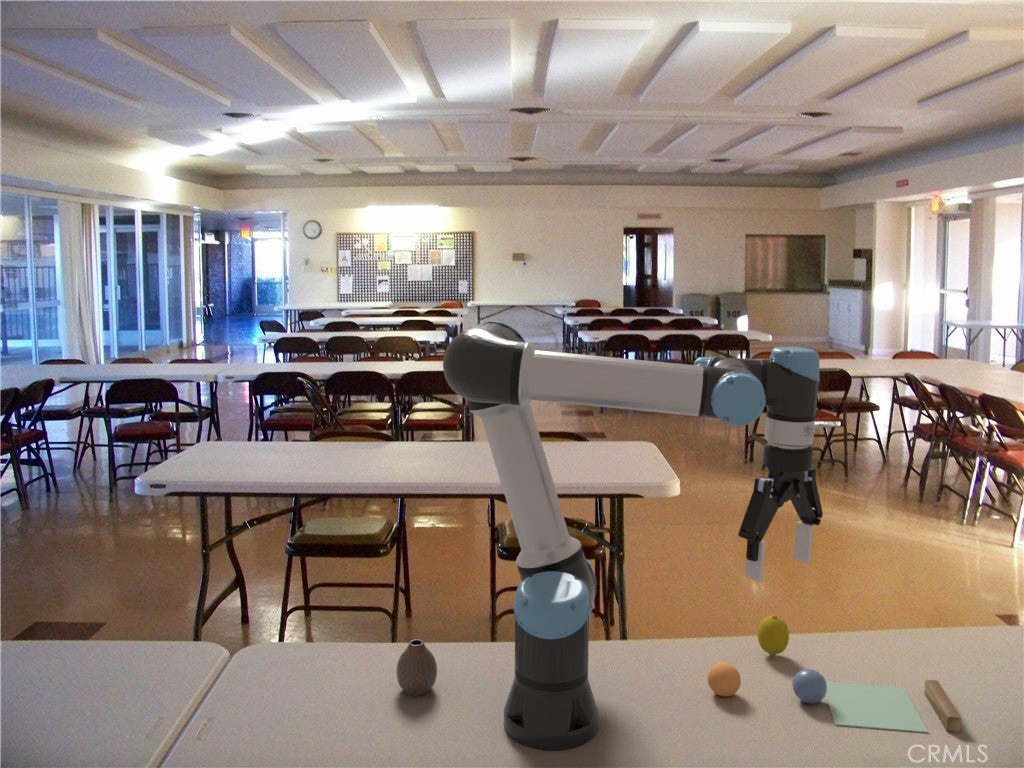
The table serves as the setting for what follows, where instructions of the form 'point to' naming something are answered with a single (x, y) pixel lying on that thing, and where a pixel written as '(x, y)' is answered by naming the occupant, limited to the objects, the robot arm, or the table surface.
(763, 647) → the lemon
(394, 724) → the table surface
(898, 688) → the mark
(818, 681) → the ball
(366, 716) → the table surface
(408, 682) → the vase
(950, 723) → the rail
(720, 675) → the ball
